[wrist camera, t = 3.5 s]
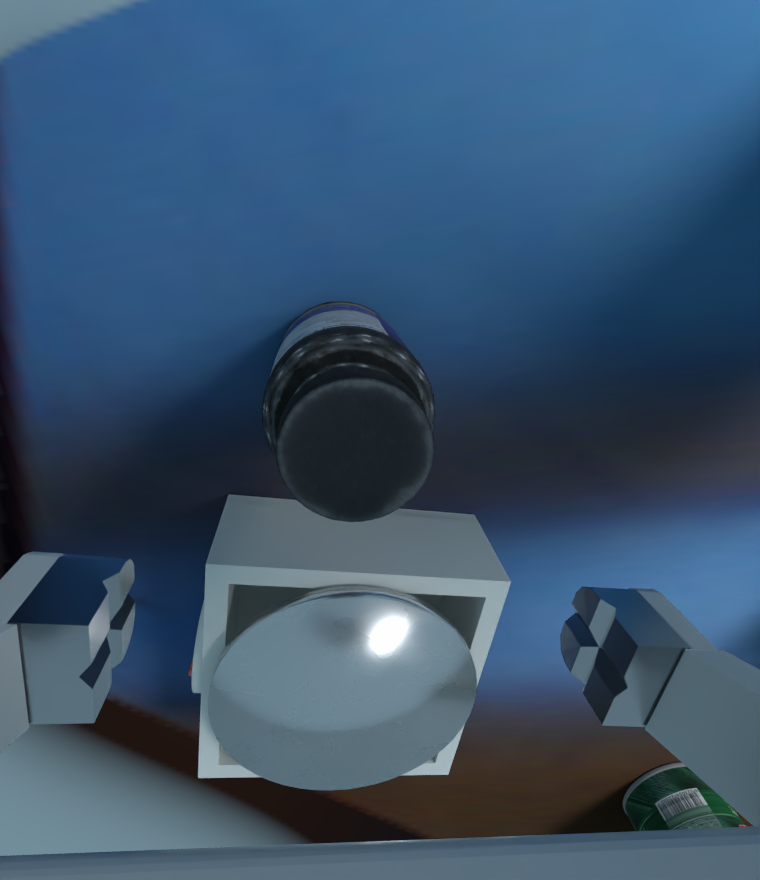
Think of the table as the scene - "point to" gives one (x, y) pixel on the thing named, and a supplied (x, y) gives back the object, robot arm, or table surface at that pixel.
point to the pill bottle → (348, 414)
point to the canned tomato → (676, 802)
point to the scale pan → (342, 688)
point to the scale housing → (339, 584)
